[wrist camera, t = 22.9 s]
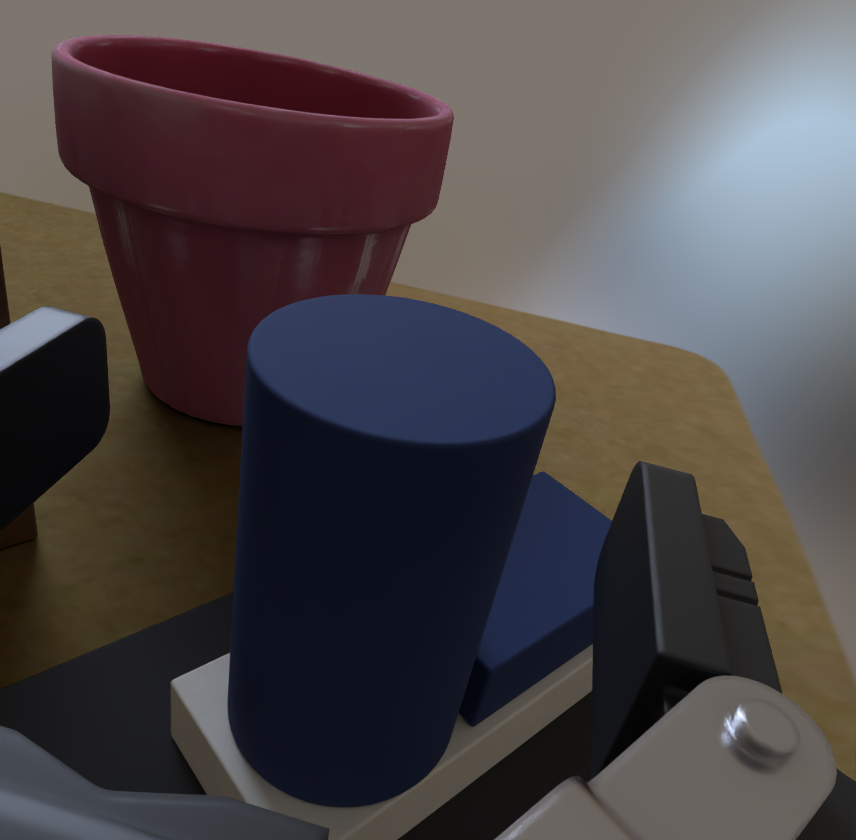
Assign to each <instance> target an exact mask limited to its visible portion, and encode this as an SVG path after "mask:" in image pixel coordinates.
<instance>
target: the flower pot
mask: <svg viewBox="0 0 856 840" xmlns="http://www.w3.org/2000/svg"><path fill="white" fill-rule="evenodd" d="M52 76H53V96H54V109H55V123H56V133H57V143H58V151H59V156H60V158H61V161H62V163H63V164H64V166H65V167H66V169H67V170H68V171H69V172H70V173H71V174H72V175H73V176H75V177H76V178H78V179H79V180H80V181H82V182H83V183H85V184H86V185H88V186H89V188H90V192H91V196H92V200H93V204H94V208H95V212H96V216H97V220H98V224H99V228H100V232H101V236H102V239H103V243H104V246H105V250H106V253H107V257H108V261H109V264H110V268H111V271H112V275H113V278H114V282H115V285H116V289H117V292H118V295H119V298H120V302H121V305H122V308H123V312H124V315H125V318H126V321H127V324H128V328H129V331H130V334H131V337H132V341H133V344H134V347H135V351H136V354H137V357H138V361H139V365H140V368H141V372H142V376H143V378H144V380H145V382H146V384H147V386H148V387H149V389H150V390H151V391H152V392H153V393H154V394H155V395H156V396H157V397H158V398H159V399H160V400H162V401H163V402H165V403H166V404H168V405H169V406H171V407H173V408H175V409H177V410H179V411H181V412H183V413H185V414H188V415H190V416H193V417H197V418H200V419H204V420H207V421H211V422H216V423H221V424H227V425H234V426H243V410H244V392H245V374H246V355H247V346H248V341H249V339H250V337H251V335H252V333H253V331H254V329H255V328H256V327H257V325H258V324H259V323H260V322H261V321H262V320H263V319H264V318H266V317H267V316H268V315H269V314H271V313H273V312H275V311H276V310H278V309H280V308H282V307H285V306H287V305H290V304H293V303H296V302H299V301H303V300H307V299H312V298H317V297H324V296H332V295H348V294H368V295H384V296H385V294H386V291H387V289H388V286H389V283H390V281H391V278H392V276H393V273H394V270H395V267H396V265H397V262H398V259H399V257H400V254H401V251H402V248H403V245H404V243H405V240H406V237H407V234H408V232H409V229H410V226H411V224H413V223H415V222H418V221H420V220H422V219H424V218H425V217H427V216H428V215H429V214H431V213H432V211H433V210H434V209H435V208H436V205H437V202H438V199H439V194H440V190H441V185H442V180H443V175H444V170H445V165H446V159H447V154H448V149H449V144H450V138H451V132H452V125H453V119H454V117H453V112H452V110H451V108H450V107H449V106H448V105H447V104H445V103H444V102H442V101H441V100H439V99H437V98H435V97H433V96H431V95H429V94H426V93H424V92H421V91H418V90H416V89H413V88H410V87H407V86H405V85H402V84H399V83H395V82H392V81H388V80H385V79H381V78H378V77H374V76H371V75H367V74H363V73H359V72H355V71H352V70H348V69H344V68H340V67H335V66H331V65H327V64H323V63H319V62H314V61H310V60H306V59H301V58H296V57H291V56H286V55H280V54H275V53H270V52H264V51H258V50H253V49H247V48H241V47H235V46H229V45H222V44H214V43H208V42H201V41H191V40H182V39H173V38H163V37H151V36H133V35H100V36H85V37H77V38H71V39H68V40H66V41H63V42H61V43H58V44H57V45H56V46H55V47H54V48H53V51H52Z"/></svg>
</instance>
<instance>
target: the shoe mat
mask: <svg viewBox="0 0 856 840" xmlns="http://www.w3.org/2000/svg"><path fill="white" fill-rule="evenodd" d="M232 610H233V593H230V594H228V595H225V596H223V597H221V598H218V599H216V600H213V601H211V602H209V603H206V604H204V605H201V606H199V607H196V608H194V609H192V610H189V611H187V612H184V613H182V614H180V615H177V616H175V617H172V618H170V619H168V620H165V621H163V622H160V623H158V624H156V625H153V626H151V627H148V628H146V629H144V630H141V631H139V632H136V633H134V634H132V635H129V636H127V637H124V638H122V639H120V640H117V641H115V642H112V643H110V644H108V645H105V646H103V647H100V648H98V649H95V650H93V651H91V652H88V653H86V654H83V655H81V656H79V657H76V658H74V659H71V660H69V661H67V662H64V663H62V664H59V665H57V666H55V667H52V668H50V669H47V670H45V671H43V672H40V673H38V674H35V675H33V676H31V677H28V678H26V679H23V680H21V681H19V682H16V683H14V684H11V685H9V686H6V687H4V688H2V689H0V726H3V727H6V728H9V729H13V730H16V731H18V732H19V733H21V734H22V735H24V736H25V737H27V738H28V739H29V740H31V741H32V742H34V743H35V744H37V745H38V746H39V747H41V748H42V749H44V750H45V751H47V752H48V753H49V754H51V755H52V756H54V757H55V758H57V759H58V760H60V761H61V762H62V763H64V764H65V765H67V766H68V767H70V768H71V769H72V770H74V771H75V772H77V773H78V774H80V775H81V776H83V777H84V778H85V779H87V780H88V781H90V782H91V783H93V784H94V785H96V786H98V787H100V788H103V789H106V790H111V791H125V792H147V793H169V794H190V795H207V794H206V792H205V790H204V789H203V787H202V785H201V784H200V782H199V780H198V779H197V777H196V775H195V774H194V772H193V770H192V769H191V767H190V765H189V764H188V762H187V760H186V759H185V757H184V755H183V754H182V752H181V750H180V749H179V747H178V745H177V744H176V742H175V740H174V739H173V737H172V735H171V681H172V680H173V679H175V678H178V677H180V676H182V675H184V674H186V673H188V672H190V671H192V670H195V669H197V668H199V667H201V666H203V665H205V664H207V663H209V662H211V661H214V660H216V659H218V658H220V657H222V656H224V655H226V654H228V653H230V646H231V628H232ZM591 730H592V691H591V692H589V693H588V694H587V695H586V696H584V697H583V698H582V699H580V700H579V701H578V702H576V703H575V704H574V705H573V706H571V707H570V708H569V709H567V710H566V711H565V712H563V713H562V714H561V715H559V716H558V717H557V718H556V719H554V720H553V721H552V722H550V723H549V724H548V725H546V726H545V727H544V728H542V729H541V730H540V731H539V732H537V733H536V734H535V735H533V736H532V737H531V738H529V739H528V740H527V741H526V742H524V743H523V744H522V745H520V746H519V747H518V748H516V749H515V750H514V751H512V752H511V753H510V754H509V755H507V756H506V757H505V758H503V759H502V760H501V761H499V762H498V763H497V764H495V765H494V766H493V767H492V768H490V769H489V770H488V771H486V772H485V773H484V774H482V775H481V776H480V777H479V778H477V779H476V780H475V781H473V782H472V783H471V784H469V785H468V786H467V787H465V788H464V789H463V790H462V791H460V792H459V793H458V794H456V795H455V796H454V797H452V798H451V799H450V800H448V801H447V802H446V803H445V804H443V805H442V806H441V807H439V808H438V809H437V810H435V811H434V812H433V813H431V814H430V815H429V816H428V817H426V818H425V819H424V820H422V821H421V822H420V823H418V824H417V825H416V826H415V827H413V828H412V829H411V830H409V831H408V832H407V833H405V834H404V835H403V836H401V837H400V838H399V839H398V840H495V839H496V838H497V837H498V836H499V835H500V834H502V833H503V832H504V831H505V830H506V829H507V828H509V827H510V826H511V825H512V824H513V823H514V822H516V821H517V820H518V819H519V818H520V817H521V816H523V815H524V814H525V813H526V812H527V811H528V810H530V809H531V808H532V807H533V806H534V805H535V804H537V803H538V802H539V801H540V800H541V799H542V798H544V797H545V796H546V795H547V794H548V793H549V792H551V791H552V790H553V789H554V788H556V787H557V786H558V785H559V784H561V783H562V782H564V781H565V780H567V779H569V778H570V777H573V776H580V777H581V778H582V779H583V780H584V781H585V782H586V783H587V782H589V781H590V780H591Z"/></svg>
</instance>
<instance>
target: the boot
mask: <svg viewBox="0 0 856 840" xmlns="http://www.w3.org/2000/svg"><path fill="white" fill-rule="evenodd" d="M555 401H556V392H555V385H554V382H553V378H552V376H551V374H550V372H549V370H548V368H547V367H546V366H545V364H544V363H543V362H542V360H541V359H540V358H539V357H538V356H537V355H536V354H535V353H534V352H533V351H532V350H531V349H530V348H528V347H527V346H526V345H525V344H523V343H522V342H521V341H519V340H518V339H516V338H515V337H513V336H512V335H510V334H509V333H507V332H505V331H503V330H502V329H500V328H498V327H496V326H494V325H492V324H490V323H488V322H486V321H483V320H481V319H479V318H476V317H474V316H471V315H469V314H466V313H463V312H460V311H457V310H454V309H451V308H447V307H444V306H440V305H437V304H433V303H428V302H423V301H419V300H413V299H407V298H401V297H393V296H384V295H368V294H348V295H332V296H324V297H317V298H312V299H307V300H303V301H299V302H296V303H293V304H290V305H287V306H285V307H282V308H280V309H278V310H276V311H275V312H273V313H271V314H269V315H268V316H267V317H266V318H264V319H263V320H262V321H261V322H260V323H259V324H258V325H257V327H256V328H255V329H254V331H253V333H252V335H251V337H250V339H249V341H248V346H247V355H246V374H245V392H244V410H243V428H242V446H241V464H240V483H239V501H238V519H237V537H236V555H235V573H234V592H233V610H232V628H231V646H230V653H228V654H226V655H224V656H222V657H220V658H218V659H216V660H214V661H211V662H209V663H207V664H205V665H203V666H201V667H199V668H197V669H195V670H192V671H190V672H188V673H186V674H184V675H182V676H180V677H178V678H175V679H173V680H172V681H171V735H172V737H173V739H174V740H175V742H176V744H177V745H178V747H179V749H180V750H181V752H182V754H183V755H184V757H185V759H186V760H187V762H188V764H189V765H190V767H191V769H192V770H193V772H194V774H195V775H196V777H197V779H198V780H199V782H200V784H201V785H202V787H203V789H204V790H205V792H206V794H207V795H212V796H226V797H230V798H233V799H236V800H239V801H242V802H246V803H249V804H252V805H255V806H258V807H262V808H265V809H268V810H271V811H274V812H278V813H281V814H284V815H287V816H290V817H294V818H297V819H300V820H303V821H306V822H309V823H313V824H316V825H319V826H322V827H325V828H329V829H330V830H329V836H328V840H398V839H399V838H400V837H401V836H403V835H404V834H405V833H407V832H408V831H409V830H411V829H412V828H413V827H415V826H416V825H417V824H418V823H420V822H421V821H422V820H424V819H425V818H426V817H428V816H429V815H430V814H431V813H433V812H434V811H435V810H437V809H438V808H439V807H441V806H442V805H443V804H445V803H446V802H447V801H448V800H450V799H451V798H452V797H454V796H455V795H456V794H458V793H459V792H460V791H462V790H463V789H464V788H465V787H467V786H468V785H469V784H471V783H472V782H473V781H475V780H476V779H477V778H479V777H480V776H481V775H482V774H484V773H485V772H486V771H488V770H489V769H490V768H492V767H493V766H494V765H495V764H497V763H498V762H499V761H501V760H502V759H503V758H505V757H506V756H507V755H509V754H510V753H511V752H512V751H514V750H515V749H516V748H518V747H519V746H520V745H522V744H523V743H524V742H526V741H527V740H528V739H529V738H531V737H532V736H533V735H535V734H536V733H537V732H539V731H540V730H541V729H542V728H544V727H545V726H546V725H548V724H549V723H550V722H552V721H553V720H554V719H556V718H557V717H558V716H559V715H561V714H562V713H563V712H565V711H566V710H567V709H569V708H570V707H571V706H573V705H574V704H575V703H576V702H578V701H579V700H580V699H582V698H583V697H584V696H586V695H587V694H588V693H589V692H591V691H592V667H593V604H594V580H595V573H596V568H597V563H598V559H599V556H600V552H601V549H602V546H603V543H604V541H605V538H606V535H607V533H608V530H609V528H610V525H611V523H612V521H611V520H610V519H609V518H607V517H606V516H604V515H603V514H602V513H600V512H599V511H598V510H596V509H595V508H593V507H592V506H591V505H589V504H588V503H587V502H585V501H584V500H582V499H581V498H580V497H578V496H577V495H576V494H574V493H573V492H571V491H570V490H569V489H567V488H566V487H565V486H563V485H562V484H560V483H559V482H558V481H556V480H555V479H554V478H552V477H551V476H549V475H548V474H547V473H545V472H540V473H538V474H536V475H533V473H534V470H535V466H536V463H537V460H538V457H539V454H540V450H541V447H542V444H543V441H544V438H545V434H546V431H547V428H548V425H549V422H550V418H551V415H552V412H553V409H554V405H555Z"/></svg>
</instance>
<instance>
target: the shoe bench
mask: <svg viewBox="0 0 856 840" xmlns="http://www.w3.org/2000/svg"><path fill="white" fill-rule="evenodd" d="M9 324H10V317H9V309H8V301H7V294H6V286H5V278H4V270H3V263H2V255H1V247H0V329H2V328H4V327H5V326H7V325H9ZM37 535H38V534H37V526H36V518H35V510H34V503H32V504H31V505H30V506H29V507H28V508H27V509H26V510H24V511H23V512H22V513H21V514H20V515H19V516H18V517H17V518H15V519H14V520H13V521H12V522H11V523H10V524H9V525H8V526H6V527H5V528H4V529H3V530H2V531H1V532H0V549H2V548H5V547H8V546H11V545H15V544H18V543H21V542H24V541H27V540H31V539H34V538H36V537H37Z"/></svg>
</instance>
